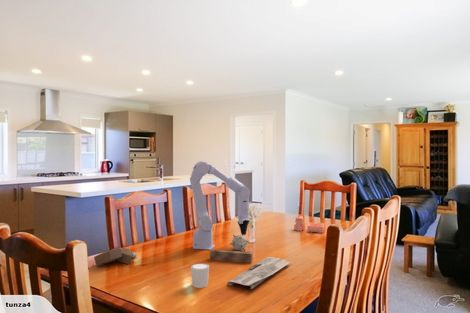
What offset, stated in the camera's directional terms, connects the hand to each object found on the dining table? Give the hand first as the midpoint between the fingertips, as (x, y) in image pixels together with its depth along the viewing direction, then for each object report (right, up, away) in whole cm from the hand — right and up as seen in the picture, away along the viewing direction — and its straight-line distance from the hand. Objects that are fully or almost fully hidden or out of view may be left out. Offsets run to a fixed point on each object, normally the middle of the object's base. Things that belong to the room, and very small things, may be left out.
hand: (243, 234), depth 180 cm
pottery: (+41, -6, +34) cm, 54 cm away
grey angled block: (-56, -7, -28) cm, 63 cm away
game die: (-3, -6, -10) cm, 12 cm away
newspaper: (+6, -7, -43) cm, 44 cm away
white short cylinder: (-18, -7, -53) cm, 57 cm away
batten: (-6, -6, -25) cm, 27 cm away
